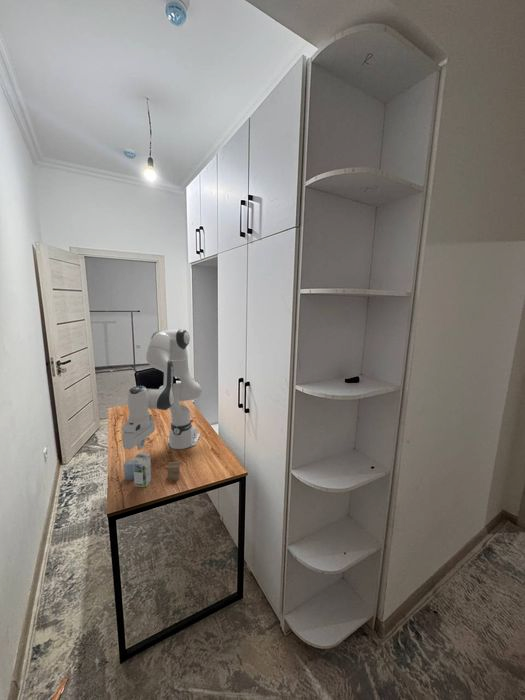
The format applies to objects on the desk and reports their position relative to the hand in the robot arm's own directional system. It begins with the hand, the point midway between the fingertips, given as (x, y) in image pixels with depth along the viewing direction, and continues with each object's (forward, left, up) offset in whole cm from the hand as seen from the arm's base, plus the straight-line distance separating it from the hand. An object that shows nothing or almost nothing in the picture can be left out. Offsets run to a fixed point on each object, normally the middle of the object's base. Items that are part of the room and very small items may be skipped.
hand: (140, 448), depth 137 cm
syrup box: (0, 0, -19) cm, 19 cm away
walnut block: (-8, +12, -18) cm, 23 cm away
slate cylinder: (-3, -9, -18) cm, 21 cm away
